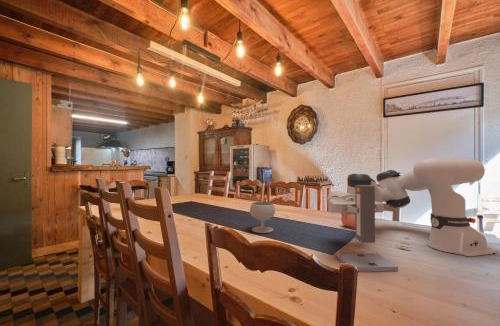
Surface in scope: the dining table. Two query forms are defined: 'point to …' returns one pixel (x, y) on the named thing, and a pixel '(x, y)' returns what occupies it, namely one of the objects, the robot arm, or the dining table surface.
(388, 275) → the dining table surface
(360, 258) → the mounting plate
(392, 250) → the dining table surface
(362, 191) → the tall taupe pillar
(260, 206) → the chalice
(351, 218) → the teapot
